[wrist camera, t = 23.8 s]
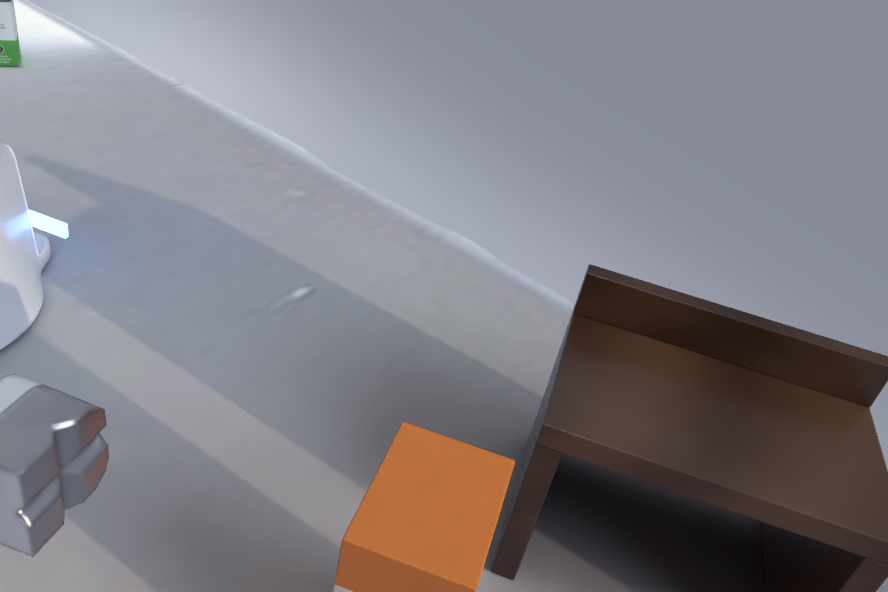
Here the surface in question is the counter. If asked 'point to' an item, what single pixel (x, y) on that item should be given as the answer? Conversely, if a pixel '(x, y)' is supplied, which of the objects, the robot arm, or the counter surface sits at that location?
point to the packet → (425, 517)
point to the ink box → (8, 35)
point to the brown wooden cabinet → (718, 427)
